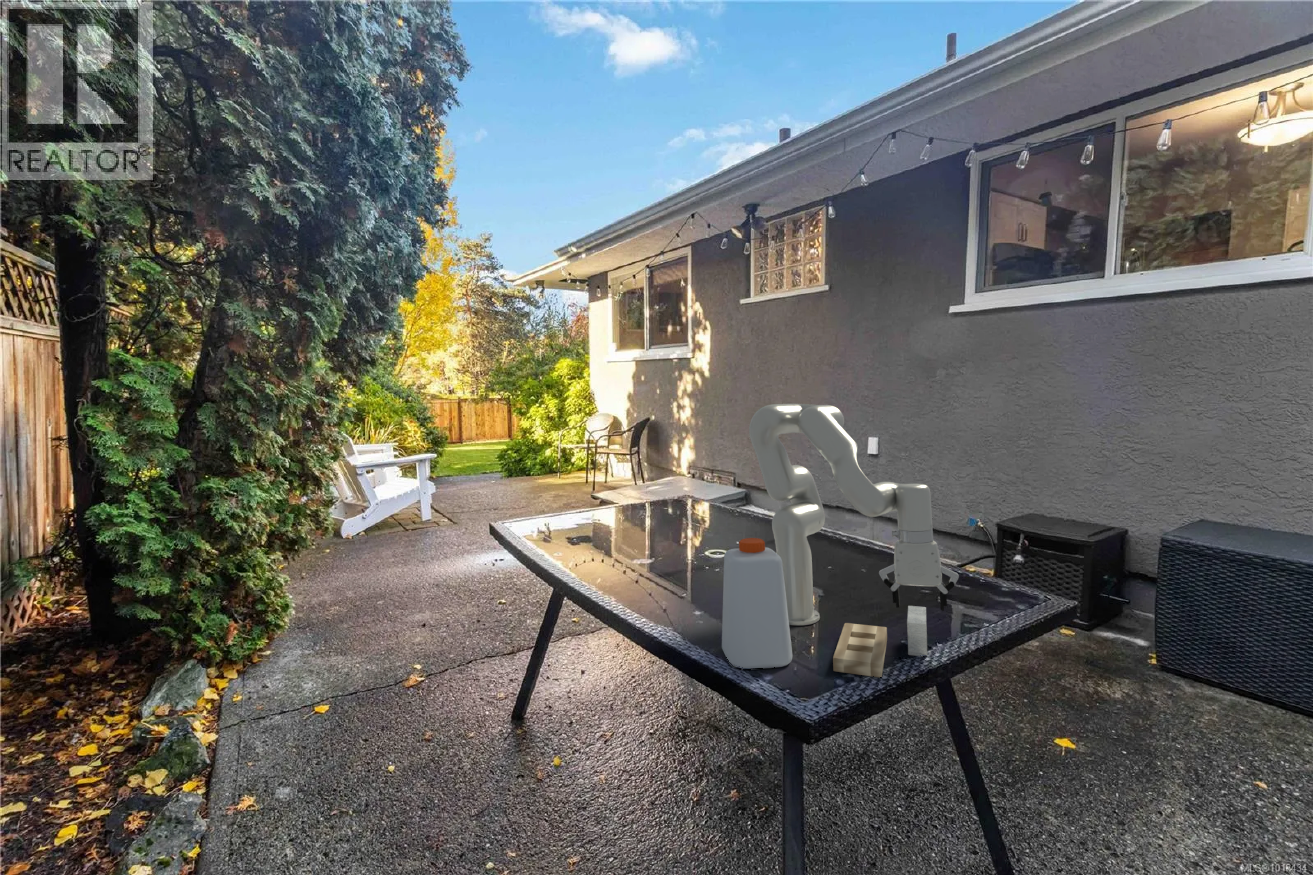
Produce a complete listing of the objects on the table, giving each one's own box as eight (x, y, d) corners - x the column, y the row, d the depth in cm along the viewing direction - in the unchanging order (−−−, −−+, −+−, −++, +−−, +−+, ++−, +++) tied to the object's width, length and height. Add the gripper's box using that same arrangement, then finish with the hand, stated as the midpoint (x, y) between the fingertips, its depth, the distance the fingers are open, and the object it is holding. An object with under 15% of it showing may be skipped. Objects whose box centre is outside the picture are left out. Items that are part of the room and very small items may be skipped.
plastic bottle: (797, 668, 131) (793, 545, 129) (731, 673, 130) (726, 550, 128) (778, 641, 146) (774, 531, 145) (719, 646, 145) (714, 535, 143)
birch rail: (833, 671, 128) (833, 657, 128) (845, 634, 148) (844, 622, 148) (881, 677, 124) (881, 664, 124) (887, 639, 144) (886, 627, 144)
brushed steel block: (908, 656, 134) (907, 622, 134) (909, 637, 145) (908, 605, 144) (927, 658, 132) (926, 624, 132) (926, 639, 143) (925, 607, 143)
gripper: (875, 538, 137) (879, 610, 138) (957, 540, 130) (961, 615, 130) (877, 532, 144) (881, 600, 145) (955, 533, 137) (959, 605, 137)
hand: (919, 607), depth 138 cm, fingers open, 9 cm apart
